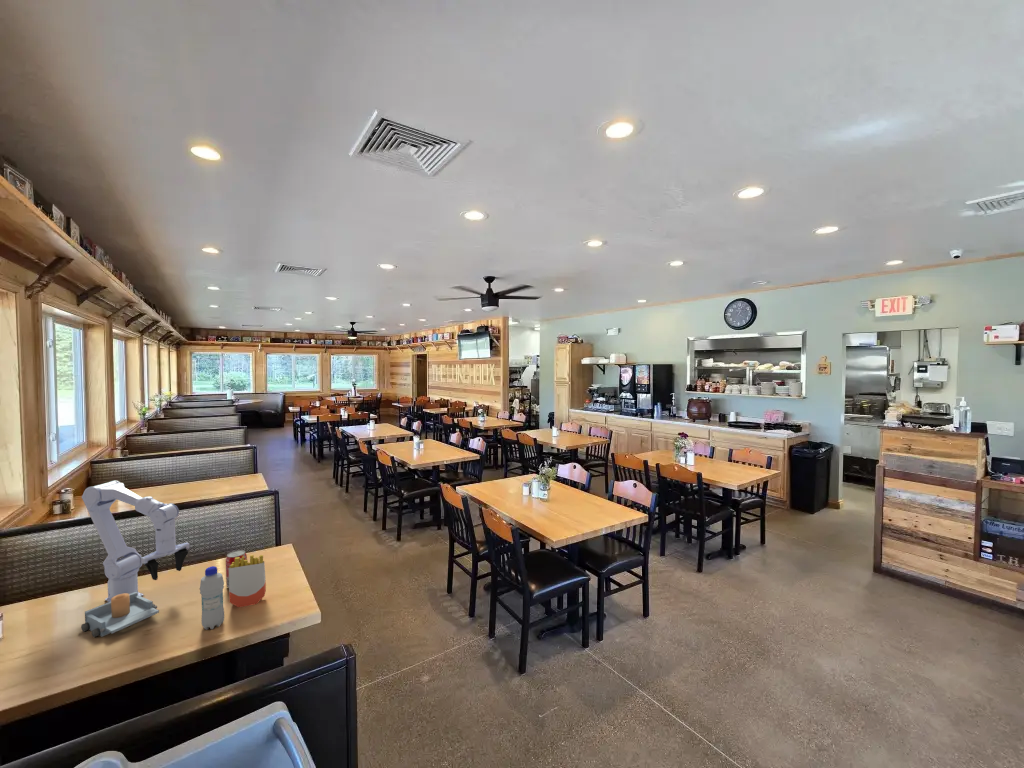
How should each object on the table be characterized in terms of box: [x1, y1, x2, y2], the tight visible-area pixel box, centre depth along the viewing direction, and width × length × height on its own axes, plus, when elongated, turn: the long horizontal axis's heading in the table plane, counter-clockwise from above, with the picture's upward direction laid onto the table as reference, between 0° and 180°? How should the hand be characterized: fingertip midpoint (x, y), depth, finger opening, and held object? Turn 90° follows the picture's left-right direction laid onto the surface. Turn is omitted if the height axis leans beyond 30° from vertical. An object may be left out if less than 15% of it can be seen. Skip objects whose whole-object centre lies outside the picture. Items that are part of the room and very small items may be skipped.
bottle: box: [199, 565, 225, 630], centre depth 145 cm, size 7×7×20 cm
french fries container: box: [228, 554, 267, 608], centre depth 159 cm, size 5×11×18 cm, turn 113°
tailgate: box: [106, 608, 160, 634], centre depth 144 cm, size 1×13×4 cm
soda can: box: [225, 549, 248, 589], centre depth 171 cm, size 7×7×13 cm
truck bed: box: [80, 591, 158, 638], centre depth 147 cm, size 12×17×6 cm
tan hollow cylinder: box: [111, 593, 130, 618], centre depth 147 cm, size 5×5×7 cm
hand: (167, 574), depth 160 cm, fingers open, 7 cm apart
